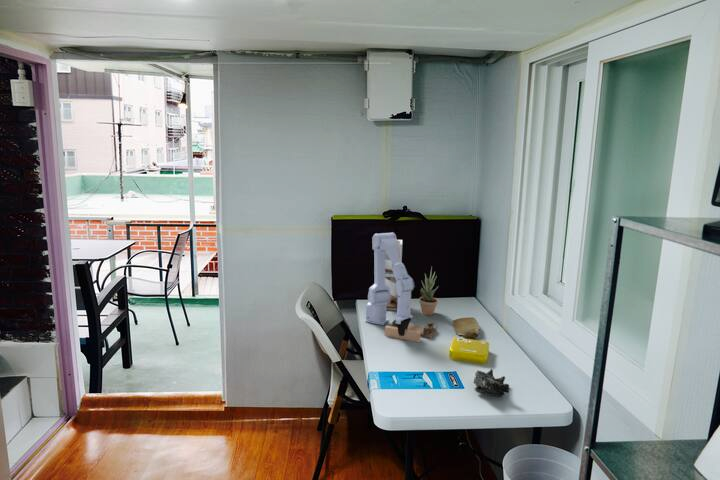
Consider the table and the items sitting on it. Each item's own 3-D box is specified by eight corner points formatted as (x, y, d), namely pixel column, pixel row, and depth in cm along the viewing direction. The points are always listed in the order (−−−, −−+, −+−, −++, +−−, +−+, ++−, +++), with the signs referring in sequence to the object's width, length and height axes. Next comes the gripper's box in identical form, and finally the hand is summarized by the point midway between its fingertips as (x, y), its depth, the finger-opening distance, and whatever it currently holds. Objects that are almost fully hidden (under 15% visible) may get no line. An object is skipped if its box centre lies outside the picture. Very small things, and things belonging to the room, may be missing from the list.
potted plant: (438, 316, 249) (441, 268, 244) (419, 316, 249) (422, 268, 244) (435, 309, 258) (438, 263, 254) (417, 309, 258) (419, 263, 254)
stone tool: (484, 341, 218) (475, 321, 242) (484, 332, 217) (474, 313, 242) (458, 343, 219) (451, 323, 243) (457, 334, 218) (450, 315, 243)
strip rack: (388, 330, 228) (388, 321, 228) (395, 323, 237) (396, 315, 237) (430, 338, 221) (431, 329, 220) (436, 330, 230) (437, 322, 229)
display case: (379, 302, 268) (382, 238, 261) (399, 303, 267) (402, 239, 260) (378, 309, 257) (380, 243, 250) (399, 310, 256) (402, 244, 249)
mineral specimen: (521, 388, 167) (505, 361, 168) (489, 408, 166) (473, 381, 167) (506, 382, 182) (492, 358, 183) (477, 400, 180) (462, 376, 181)
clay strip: (384, 335, 223) (384, 327, 222) (386, 333, 225) (387, 325, 224) (418, 342, 216) (419, 333, 216) (420, 340, 219) (420, 331, 218)
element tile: (448, 360, 200) (449, 349, 199) (453, 346, 214) (453, 335, 213) (486, 365, 196) (487, 354, 195) (488, 351, 210) (489, 340, 209)
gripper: (407, 311, 210) (405, 341, 212) (417, 301, 223) (416, 330, 225) (391, 308, 212) (390, 338, 215) (402, 299, 225) (401, 327, 228)
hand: (402, 334), depth 220 cm, fingers closed on clay strip, 3 cm apart
